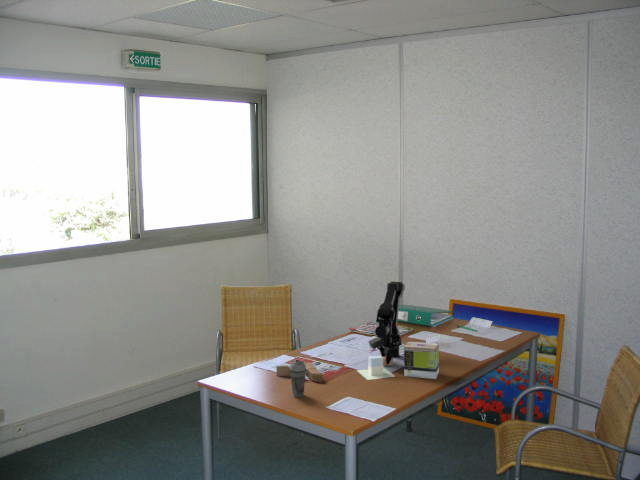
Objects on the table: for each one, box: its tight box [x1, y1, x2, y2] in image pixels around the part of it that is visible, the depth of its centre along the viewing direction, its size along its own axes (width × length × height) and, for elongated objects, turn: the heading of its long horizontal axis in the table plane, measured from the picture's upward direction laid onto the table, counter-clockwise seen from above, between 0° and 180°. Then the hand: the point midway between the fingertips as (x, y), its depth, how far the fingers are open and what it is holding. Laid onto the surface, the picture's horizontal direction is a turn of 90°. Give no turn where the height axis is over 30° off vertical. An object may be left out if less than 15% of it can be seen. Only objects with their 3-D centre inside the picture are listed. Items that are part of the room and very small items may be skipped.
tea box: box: [403, 341, 440, 380], centre depth 295 cm, size 15×10×15 cm, turn 71°
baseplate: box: [356, 366, 396, 381], centre depth 297 cm, size 14×14×1 cm
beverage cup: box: [289, 350, 306, 398], centre depth 270 cm, size 7×7×20 cm
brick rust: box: [383, 356, 394, 367], centre depth 310 cm, size 6×4×4 cm, turn 110°
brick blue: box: [367, 354, 384, 367], centre depth 296 cm, size 6×4×4 cm, turn 107°
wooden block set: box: [276, 362, 323, 383], centre depth 293 cm, size 17×6×18 cm
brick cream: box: [367, 364, 384, 375], centre depth 297 cm, size 6×4×4 cm, turn 108°
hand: (385, 362), depth 310 cm, fingers closed on brick rust, 4 cm apart
